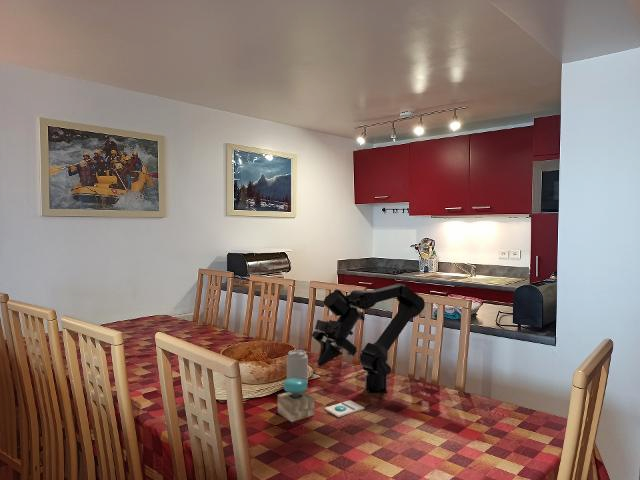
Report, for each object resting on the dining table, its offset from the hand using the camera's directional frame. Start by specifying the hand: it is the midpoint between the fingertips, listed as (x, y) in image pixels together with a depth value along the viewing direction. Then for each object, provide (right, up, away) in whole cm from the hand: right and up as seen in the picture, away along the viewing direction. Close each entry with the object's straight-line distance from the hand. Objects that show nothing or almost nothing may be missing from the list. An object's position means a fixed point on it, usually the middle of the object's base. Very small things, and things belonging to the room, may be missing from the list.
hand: (318, 365), depth 143 cm
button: (-7, -8, -5) cm, 12 cm away
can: (-8, -12, +19) cm, 24 cm away
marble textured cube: (-7, -13, -5) cm, 16 cm away
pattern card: (+8, -13, -2) cm, 15 cm away
